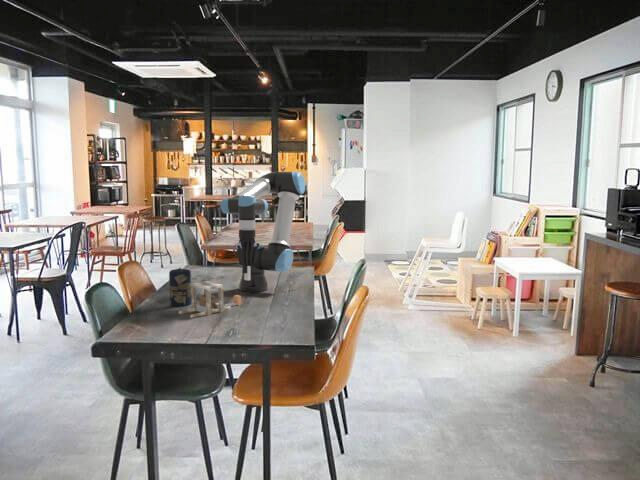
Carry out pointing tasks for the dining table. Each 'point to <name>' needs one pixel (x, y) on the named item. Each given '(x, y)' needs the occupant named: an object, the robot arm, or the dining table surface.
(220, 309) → the cream wooden rail frame
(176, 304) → the canister
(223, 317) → the dining table surface
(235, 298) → the orange and grey bar
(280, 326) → the dining table surface
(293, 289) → the dining table surface
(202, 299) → the block
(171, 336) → the dining table surface
